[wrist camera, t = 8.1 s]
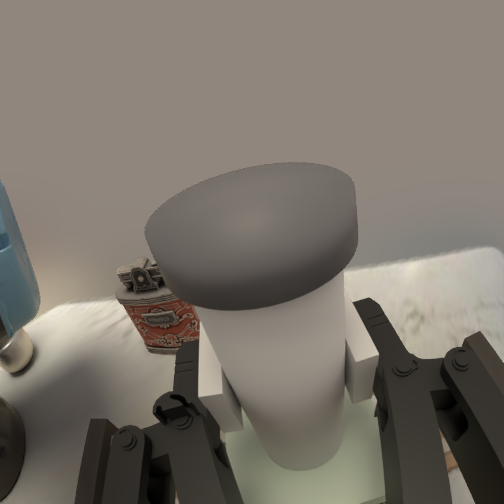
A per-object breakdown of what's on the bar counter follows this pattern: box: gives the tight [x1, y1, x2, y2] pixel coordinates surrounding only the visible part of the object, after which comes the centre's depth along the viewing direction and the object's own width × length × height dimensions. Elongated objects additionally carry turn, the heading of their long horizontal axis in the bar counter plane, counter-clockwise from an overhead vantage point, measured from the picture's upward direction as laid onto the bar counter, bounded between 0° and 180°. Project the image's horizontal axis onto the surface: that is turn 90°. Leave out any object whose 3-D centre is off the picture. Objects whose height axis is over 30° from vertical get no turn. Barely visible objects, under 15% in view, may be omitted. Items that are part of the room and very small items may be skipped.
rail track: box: [75, 331, 504, 504], centre depth 15 cm, size 30×8×4 cm, turn 95°
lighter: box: [116, 257, 200, 355], centre depth 27 cm, size 8×3×10 cm, turn 89°
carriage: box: [145, 162, 386, 504], centre depth 11 cm, size 8×9×16 cm
